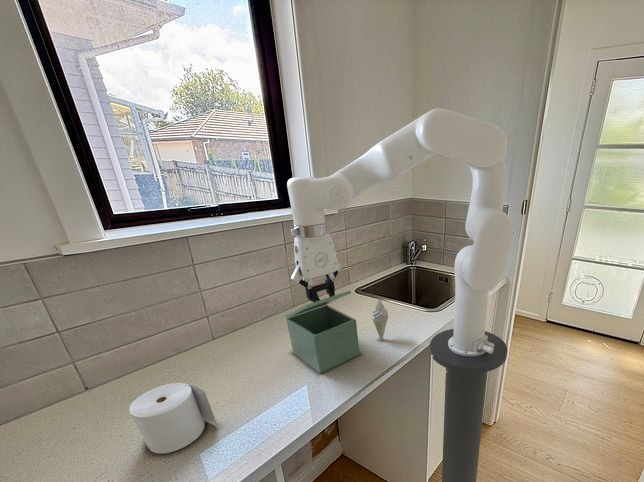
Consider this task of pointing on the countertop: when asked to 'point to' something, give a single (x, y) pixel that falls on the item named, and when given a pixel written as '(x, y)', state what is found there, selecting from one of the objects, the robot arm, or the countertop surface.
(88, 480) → the countertop surface
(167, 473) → the countertop surface
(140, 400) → the toilet tissue
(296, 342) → the bin
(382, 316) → the ice cream cone
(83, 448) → the countertop surface
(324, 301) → the bin lid
